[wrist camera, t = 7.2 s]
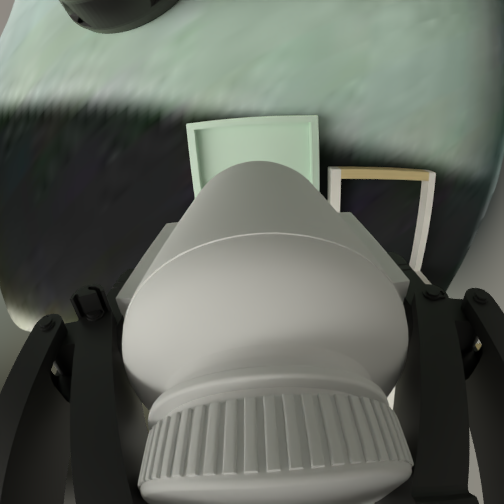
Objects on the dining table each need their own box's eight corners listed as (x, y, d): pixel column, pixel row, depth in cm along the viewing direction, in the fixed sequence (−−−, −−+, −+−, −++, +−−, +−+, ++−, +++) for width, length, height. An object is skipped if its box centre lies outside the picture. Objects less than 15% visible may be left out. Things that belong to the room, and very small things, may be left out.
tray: (189, 123, 26) (186, 123, 24) (314, 115, 25) (317, 115, 24) (203, 235, 31) (201, 242, 30) (315, 229, 31) (318, 235, 29)
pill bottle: (343, 182, 16) (541, 397, 2) (295, 292, 19) (336, 524, 6) (212, 139, 15) (-31, 326, 1) (181, 261, 18) (97, 500, 5)
